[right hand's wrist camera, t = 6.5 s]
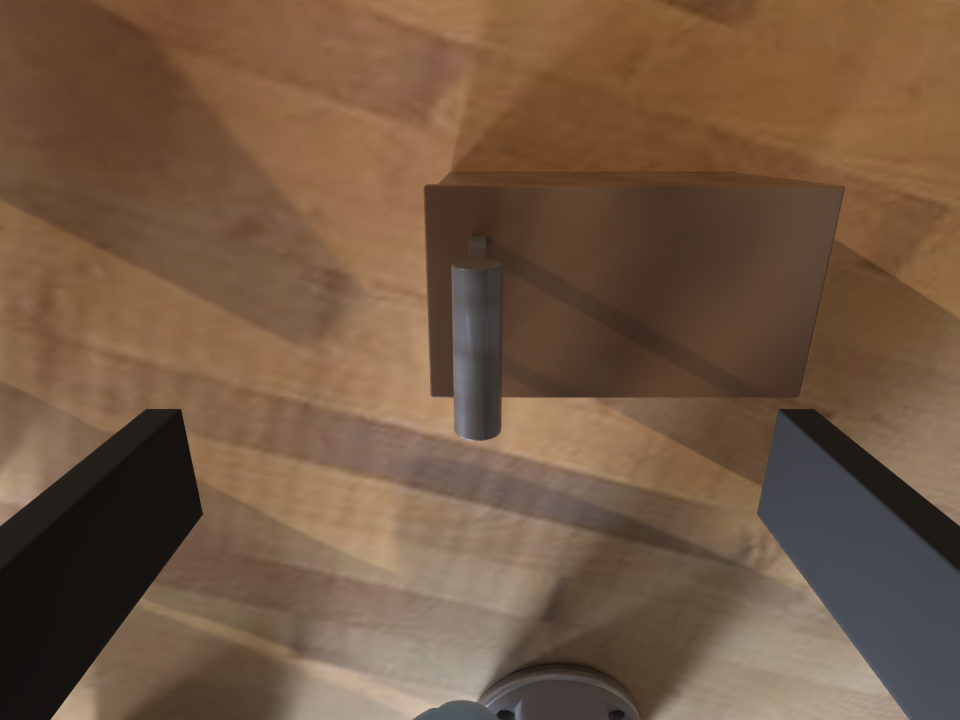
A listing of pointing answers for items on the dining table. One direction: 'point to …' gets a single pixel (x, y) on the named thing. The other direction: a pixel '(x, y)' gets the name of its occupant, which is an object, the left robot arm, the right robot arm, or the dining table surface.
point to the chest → (612, 178)
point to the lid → (621, 291)
